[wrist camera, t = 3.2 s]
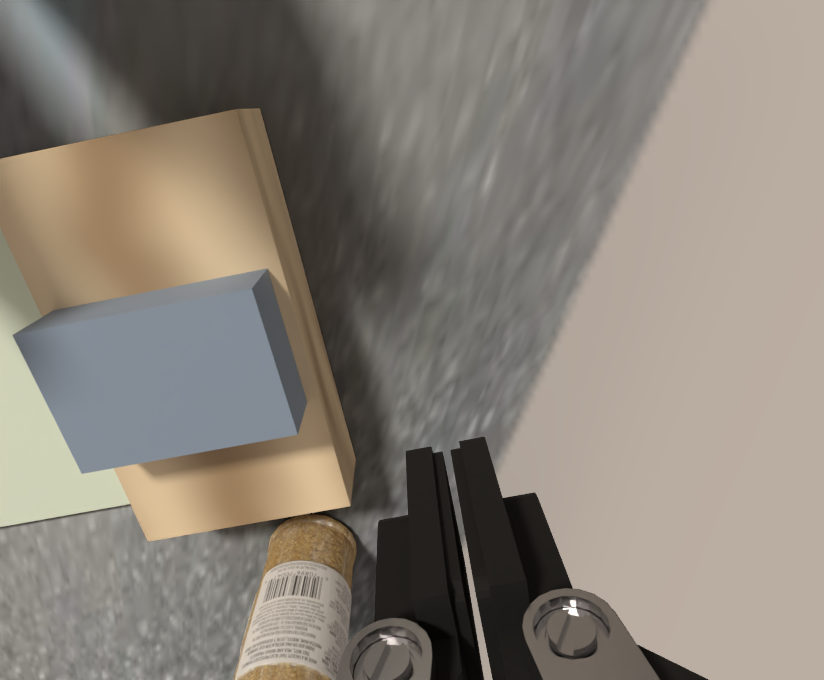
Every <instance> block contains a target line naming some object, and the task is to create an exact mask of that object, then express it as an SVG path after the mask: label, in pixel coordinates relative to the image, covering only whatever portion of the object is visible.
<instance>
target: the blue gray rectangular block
mask: <svg viewBox="0 0 824 680" xmlns="http://www.w3.org/2000/svg"><path fill="white" fill-rule="evenodd" d="M13 337H14V339H15V341H16V343H17V345H18V347H19V349H20V351H21V353H22V355H23V357H24V359H25V361H26V363H27V365H28V367H29V369H30V371H31V373H32V375H33V377H34V379H35V381H36V383H37V385H38V387H39V389H40V391H41V393H42V395H43V397H44V399H45V401H46V403H47V405H48V407H49V409H50V411H51V413H52V415H53V417H54V419H55V421H56V423H57V425H58V427H59V429H60V431H61V433H62V435H63V437H64V439H65V441H66V443H67V445H68V447H69V449H70V451H71V453H72V455H73V457H74V459H75V461H76V463H77V465H78V467H79V469H80V471H81V473H82V474H84V473H90V472H95V471H101V470H106V469H112V468H117V467H123V466H128V465H134V464H139V463H145V462H150V461H156V460H161V459H167V458H172V457H178V456H183V455H189V454H195V453H200V452H206V451H211V450H217V449H222V448H228V447H233V446H239V445H244V444H250V443H255V442H261V441H266V440H272V439H277V438H283V437H288V436H294V435H298V432H299V429H300V425H301V422H302V419H303V415H304V412H305V408H306V405H307V399H306V396H305V392H304V389H303V386H302V382H301V379H300V375H299V372H298V369H297V365H296V362H295V359H294V355H293V352H292V349H291V345H290V342H289V339H288V335H287V332H286V329H285V325H284V322H283V319H282V315H281V312H280V309H279V305H278V302H277V298H276V295H275V292H274V288H273V285H272V282H271V278H270V275H269V272H268V268H267V269H262V270H257V271H251V272H246V273H241V274H236V275H231V276H226V277H221V278H216V279H211V280H206V281H200V282H195V283H190V284H185V285H180V286H175V287H170V288H165V289H160V290H155V291H149V292H144V293H139V294H134V295H129V296H124V297H119V298H114V299H109V300H104V301H98V302H93V303H88V304H83V305H78V306H73V307H68V308H63V309H58V310H53V311H51V312H50V313H48V314H47V315H45V316H43V317H42V318H40V319H38V320H37V321H35V322H33V323H32V324H30V325H28V326H27V327H25V328H23V329H22V330H20V331H18V332H17V333H15V334H13Z"/></svg>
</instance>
